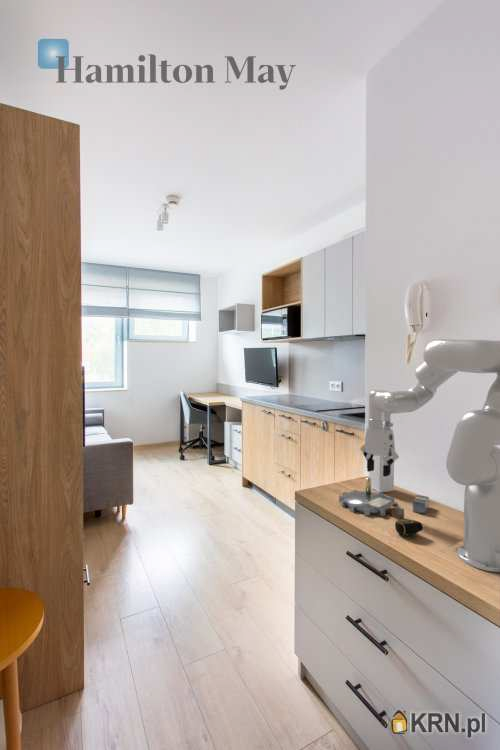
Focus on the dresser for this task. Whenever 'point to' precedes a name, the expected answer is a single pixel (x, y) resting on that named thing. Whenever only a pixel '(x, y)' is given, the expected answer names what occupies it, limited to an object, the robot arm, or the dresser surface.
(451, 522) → the dresser surface
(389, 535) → the dresser surface
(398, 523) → the tape measure
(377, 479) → the milk carton
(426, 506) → the grey rectangular block
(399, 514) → the taupe wooden cube
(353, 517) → the dresser surface
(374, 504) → the sprocket
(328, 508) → the dresser surface
